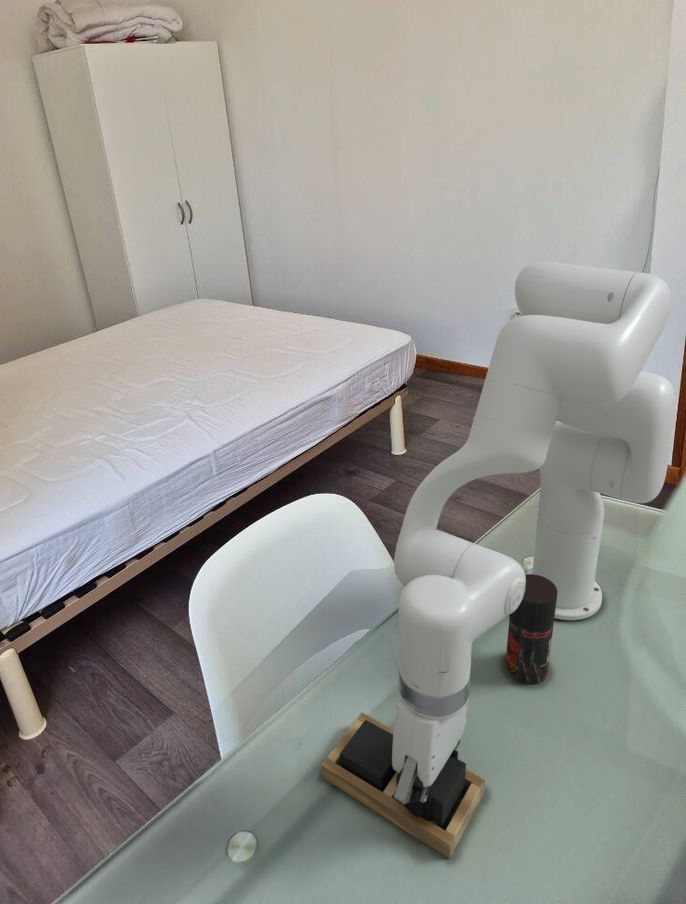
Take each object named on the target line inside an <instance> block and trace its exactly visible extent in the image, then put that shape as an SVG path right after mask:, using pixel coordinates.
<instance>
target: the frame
mask: <svg viewBox="0 0 686 904" xmlns="http://www.w3.org/2000/svg"><path fill="white" fill-rule="evenodd" d="M365 720H367V721H369V722H371V723H373V724H375V725H376V726H378V727H380V728H382V729H384V730H385V731H387V732H389V733H391V734H393V733H394V728H391V727H390V726H388V725H386V724H384V723H383V722H381V721H378V720H377V719H375V718H373V717H372V716H370V715H368V714H366V713H364V712H361V713H360V714H359V716H357V718H356V719H355V721H354V722H353V723H352V725H351V726H350V727H349V728H348V730H347V731H346V733H344V735H343V736H342V737H341V739H340V740H339V742H337V744H336V745H335V747H334V748H333V749H332V750H331V752H330V753H329V755H328V756H327V757H326V758H325V760H324V761H323V762H322V764H321V774H322V779H323V780H325V781H326V782H328V783H330V784H331V785H333V786H334V787H336V788H337V789H339V790H341V791H342V792H344V793H345V794H347V795H349V796H350V797H352V798H354V800H356V801H358V802H360V803H361V804H362V805H364V806H365V807H368V808H369V809H371V810H372V811H374V812H375V813H377V814H378V815H380V816H382V817H383V818H384V819H386V820H388V821H390V822H391V823H392V824H394V825H396V826H397V827H399V828H400V829H402V830H404V831H405V832H407V833H408V834H410V835H412V836H413V837H414V838H416V839H418V840H419V841H421V842H422V843H424V844H425V845H427V846H429V847H430V848H432V849H433V850H435V851H437V852H438V853H440V854H441V855H443V856H445V857H446V858H448V859H451V857H452V855H453V853H454V851H455V849H456V848H457V845H458V843H459V841H460V840H461V838H462V835H463V834H464V832H465V830H466V828H467V826H468V825H469V823H470V820H471V819H472V817H473V815H474V813H475V812H476V810H477V807H478V805H479V804H480V802H481V800H482V798H483V796H484V794H485V784H486V779H485V778H482V777H481V776H478V775H477V774H475V773H473V772H471V771H470V770H468V769H466V773H465V786H464V788H463V790H462V792H464V793H465V794H464V796H463V798H462V799H461V801H460V803H459V805H458V806H457V808H456V810H455V812H454V814H453V816H452V818H451V820H450V821H449V823H448V825H447V827H446V828H445V829H443V828H442V827H441V826H438V825H437V824H435V823H433V822H432V821H431V820H429V821H426V820H424V819H423V818H421V817H416V816H414V815H412V814H411V813H410V812H409V811H408V809H407V808H406V807H405V804H403V803H401V802H399V801H398V800H396V799H394V795H395V792H396V789H397V780H396V776H397V775H398V772H396V773H395V775H394V776H393V778H392V779H391V781H390V782H389V784H388V785H387V787H386V788H385V790H384V791H383V792H381V791H380V790H378V789H376V788H375V787H373V786H372V785H370V784H368V783H367V782H365V781H363V780H362V779H360V778H359V777H357V776H355V775H354V774H352V773H350V772H349V771H347V770H346V769H344V768H342V767H341V763H340V753H341V751H342V750H343V749H344V747H345V746H346V745H347V743H348V742H349V741H350V739H351V738H352V737H353V735H354V734H355V733H356V731H357V730H358V729H359V727H360V726H361V725H362V723H363V722H364V721H365Z"/></svg>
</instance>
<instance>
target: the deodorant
mask: <svg viewBox="0 0 686 904" xmlns="http://www.w3.org/2000/svg"><path fill="white" fill-rule="evenodd" d="M525 574H526V573H525ZM525 577H526V584H525V593H524V596H523V599H522V601H521V603H520V605H519V606H518V608H517V609H516V610H515V611H514V612H513V613H511V614H509V615H508V616H509V618H508V630H507V639H506V640H507V641H506V653H505V666H504V667H505V671H506V672H507V675H508V676H510V678H512V679H513V680H514V681H516V682H518V683H520V684H524V685H530V686H531V685H532V686H534V685H538V684H541V683H543V682H544V681H545V680H546V679H547V676H548V673H549V666H550V658H551V650H552V642H553V633H554V626H555V625H554V624H555V618H554V617H555V609H556V601H557V588H556V586H555V585H554V583H553V582H551V581H550V580H549V579H547V578H545V577H542V576H539V575H534V574H526V575H525Z"/></svg>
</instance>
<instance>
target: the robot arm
mask: <svg viewBox="0 0 686 904" xmlns="http://www.w3.org/2000/svg"><path fill="white" fill-rule="evenodd" d="M671 295H672V294H671V290H670V288H669V285H668V284H667V282H666V281H665V280H664V279H662V277H659V276H658V275H655V274H652V273H647V272H642V271H641V272H640V271H632V270H624V269H614V268H605V267H597V266H589V265H582V264H572V263H565V262H564V263H563V262H555V261H537V262H533V263H531V264H528V265H526V266H525V267H524V268H522V269H521V270H520V271H519V273H518V275H517V276H516V278H515V284H514V299H515V303H516V306H517V308H518V311H519V313H520V314H521V315H520V316H517V317H513V318H511V319H510V320H508V321H507V322H506V323H505V324H504V325H503V326H502V327H501V329H500V331H499V333H498V335H497V337H496V342H495V345H494V348H493V350H492V351H493V352H492V355H491V357H490V362H489V365H488V370H487V372H486V376H485V378H484V383H483V387H482V390H481V393H480V396H479V400H478V403H477V406H476V411H475V414H474V416H473V421H472V425H471V428H470V432H469V435H468V438H467V439H466V442H465V443H464V445H463V446H462V447H461V448H460V449H458V450H457V451H456V452H454V453H453V454H451V455H450V456H448V457H446V458H445V459H444V460H442V461H441V462H440V463H438V465H436V466H435V467H434V468H433V469H432V470H430V472H429V473H428V474H427V475H426V477H424V479H423V480H422V482H421V483H420V484H419V485H418V487H417V488H416V490H415V491H414V493H413V495H412V496H411V499H410V500H409V503H408V504H407V507H406V511H405V515H404V517H403V521H402V525H401V527H400V531H399V535H398V538H397V542H396V546H395V552H394V556H393V557H394V558H393V569H394V573H395V576H396V578H397V580H398V581H399V583H400V584H401V585H402V586H403V588H402V590H401V592H400V595H399V599H398V608H397V609H398V693H399V697H400V700H399V701H398V705H397V709H396V714H395V719H394V725H393V730H394V733H393V746H392V766H393V769H394V770H395V771H397V772H398V773H400V771H401V770H402V769H403V771H402V774H401V777H400V780H399V783H398V786H397V789H396V792H395V795H394V799H396V800H398V802H399V803H401V804H403V805H404V806H405V807H406V808H407V809H408V811H409V812H410V813H411V814H412V815H414V816H416V817H421V818H423V819H424V820H426V821H431V819H430V818H431V807H432V796H431V795H430V794H429V790H430V785H432V784H433V782H434V781H435V779H436V778H437V776H438V775H439V773H440V771H441V770H442V768H443V767H444V765H445V763H446V762H447V760H448V758H449V757H450V755H451V756H452V757H454V758H457V759H459V751H458V749H459V748H460V744H461V737H462V736H463V734H464V732H465V729H466V725H467V718H468V702H469V699H470V688H471V687H470V686H471V668H472V666H471V665H472V649H473V648H472V647H473V642H474V641H475V640H476V639H478V638H479V637H480V636H481V635H483V634H484V633H485V632H487V631H488V630H490V629H492V628H493V627H494V626H496V625H498V624H499V623H500V622H502V621H503V620H504V619H506V618H507V617H508V616H510V614H511V613H513V612H514V611H515V610H516V609H517V608H518V606H519V605H520V603H521V601H522V599H523V596H524V593H525V584H526V577H525V575H526V574H534V575H539V576H542V577H545V578H547V579H549V580H550V581H551V582H553V583H554V585H555V586H556V588H557V601H556V609H555V617H554V619H557V620H561V621H562V620H563V621H578V620H579V621H580V620H585V619H588V618H590V617H592V616H594V615H595V614H596V613H597V612H598V611H599V610H600V608H601V606H602V603H603V592H602V589H601V587H600V585H599V584H598V582H597V581H596V580H595V579H596V572H597V566H598V560H599V553H600V547H601V539H602V533H603V526H604V519H605V505H604V502H603V499H602V496H601V495H605V496H608V497H612V498H615V499H619V500H621V501H626V502H629V503H634V504H647V503H650V502H652V501H654V500H655V499H656V498H657V497H658V496H659V495H660V492H661V491H662V489H663V487H664V484H665V480H666V476H667V472H668V465H669V458H670V450H671V442H672V436H673V429H674V421H675V415H676V393H675V389H674V387H673V385H672V383H671V381H669V379H667V378H666V377H664V376H662V375H661V374H657V373H654V372H649V371H645V370H643V369H644V367H645V365H646V363H647V360H648V359H649V356H650V354H651V353H652V351H653V349H654V347H655V346H656V344H657V342H658V341H659V339H660V337H661V335H662V334H663V331H664V329H665V327H666V324H667V322H668V318H669V316H670V313H671V312H670V310H671V302H672V297H671ZM534 471H539V501H538V512H537V522H536V532H535V541H534V552H533V563H532V568H530V569H529V570H527V572H526V573H525V570H524V568H523V566H522V565H521V564H520V563H519V562H518V561H517V560H515V559H513V558H512V557H510V556H508V555H506V554H503V553H501V552H499V551H495V550H493V549H490V548H488V547H485V546H482V545H479V544H477V543H475V542H471V541H469V540H466V539H463V538H462V537H458V536H455V535H454V534H451V533H447V532H445V531H442V530H439V529H437V527H438V525H439V520H440V517H441V513H442V512H443V509H444V507H445V505H446V504H447V502H448V500H449V499H450V497H451V496H452V495H453V494H454V493H455V492H456V491H457V490H458V489H459V488H460V487H462V486H464V485H466V484H468V483H469V482H472V481H475V480H477V479H480V478H484V477H488V476H495V475H505V474H506V475H507V474H508V475H509V474H522V473H523V474H524V473H531V472H534ZM403 767H404V768H403ZM415 778H417V779H419V780H420V781H422V782H423V783H422V787H420V786H419V785H417V784H415V783H414V781H415Z"/></svg>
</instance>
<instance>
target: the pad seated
mask: <svg viewBox="0 0 686 904" xmlns="http://www.w3.org/2000/svg"><path fill="white" fill-rule="evenodd" d="M392 746H393V734H391V733H389V732H387V731H385V730H384V729H382V728H380V727H378V726H376V725H375V724H373V723H371V722H369V721H367V720H365V721H364V722H363V723H362V725H361V726H360V727H359V729H358V730H357V731H356V733H355V734H354V735H353V737H352V738H351V739H350V741H349V742H348V743H347V745H346V746H345V747H344V749H343V750H342V751H341V753H340V763H341V767H342V768H344V769H346V770H347V771H349V772H350V773H352V774H354V775H355V776H357V777H359V778H360V779H362V780H363V781H365V782H367V783H368V784H370V785H372V786H373V787H375V788H376V789H378V790H380V791H381V792H383V791H384V790H385V788H386V787H387V785H388V784H389V782H390V781H391V779H392V778H393V776H394V775H395V773H396V772H397V771H395V770H394V769H393V766H392Z"/></svg>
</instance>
